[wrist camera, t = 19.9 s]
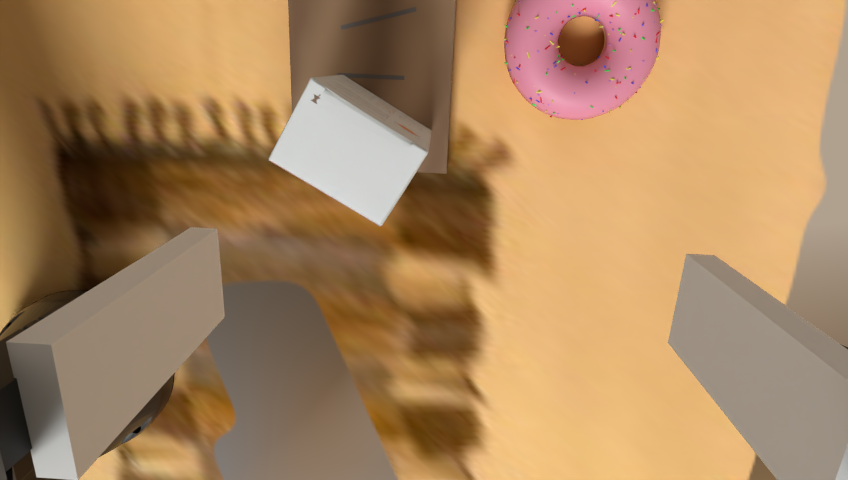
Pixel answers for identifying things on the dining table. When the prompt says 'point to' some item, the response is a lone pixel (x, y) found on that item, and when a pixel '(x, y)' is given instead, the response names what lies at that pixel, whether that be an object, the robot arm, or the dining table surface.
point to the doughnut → (591, 84)
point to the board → (381, 56)
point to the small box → (352, 146)
